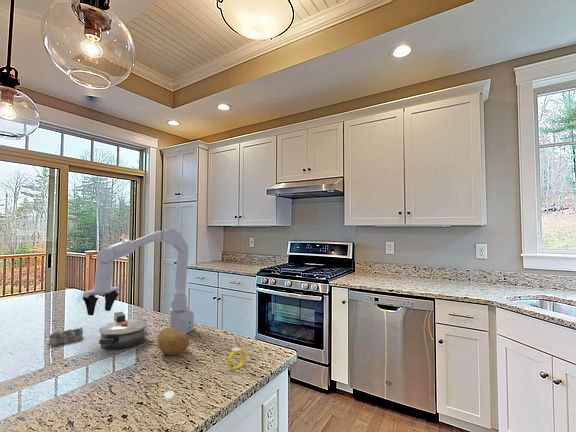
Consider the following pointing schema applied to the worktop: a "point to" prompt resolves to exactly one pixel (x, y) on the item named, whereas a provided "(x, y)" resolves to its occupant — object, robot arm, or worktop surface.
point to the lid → (122, 326)
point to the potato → (172, 341)
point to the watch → (234, 350)
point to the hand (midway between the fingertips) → (99, 312)
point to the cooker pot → (122, 340)
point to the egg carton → (66, 336)
